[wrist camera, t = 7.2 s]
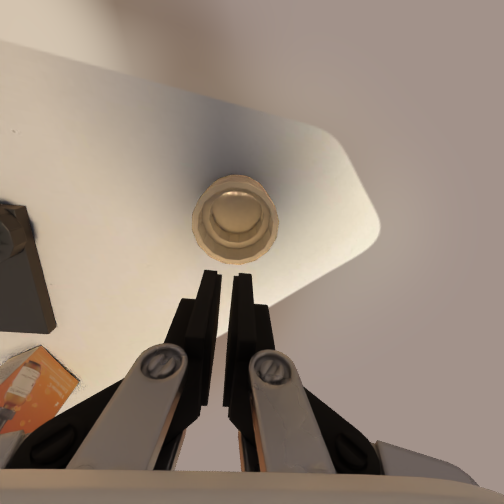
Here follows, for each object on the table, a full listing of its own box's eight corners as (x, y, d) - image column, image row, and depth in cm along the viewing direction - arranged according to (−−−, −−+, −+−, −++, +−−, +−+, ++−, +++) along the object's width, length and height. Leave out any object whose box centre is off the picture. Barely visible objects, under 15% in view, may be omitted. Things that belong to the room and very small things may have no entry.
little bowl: (203, 170, 24) (193, 176, 19) (275, 178, 25) (285, 187, 19) (201, 238, 27) (191, 260, 22) (265, 244, 28) (271, 267, 22)
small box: (80, 381, 35) (20, 468, 26) (50, 392, 36) (-20, 481, 26) (41, 343, 32) (-44, 427, 23) (8, 357, 33) (-88, 443, 23)
